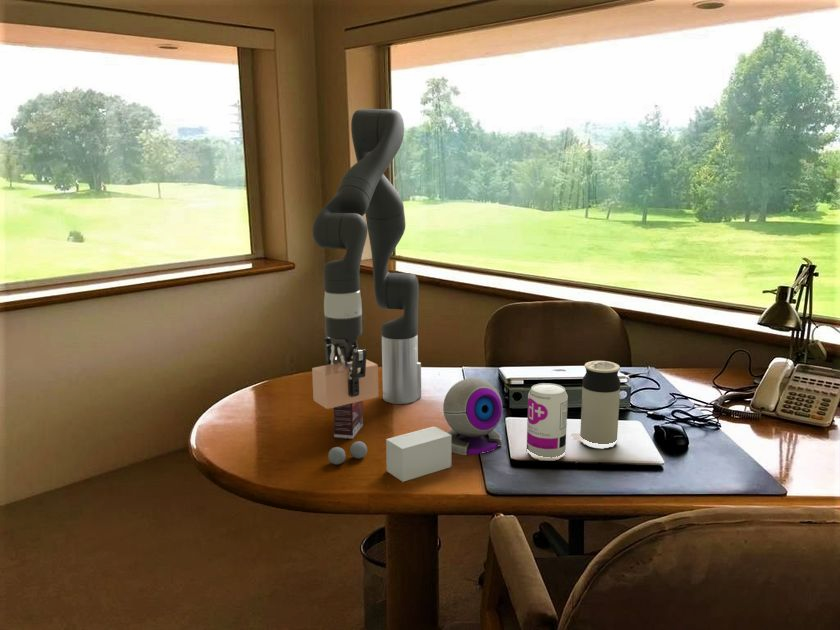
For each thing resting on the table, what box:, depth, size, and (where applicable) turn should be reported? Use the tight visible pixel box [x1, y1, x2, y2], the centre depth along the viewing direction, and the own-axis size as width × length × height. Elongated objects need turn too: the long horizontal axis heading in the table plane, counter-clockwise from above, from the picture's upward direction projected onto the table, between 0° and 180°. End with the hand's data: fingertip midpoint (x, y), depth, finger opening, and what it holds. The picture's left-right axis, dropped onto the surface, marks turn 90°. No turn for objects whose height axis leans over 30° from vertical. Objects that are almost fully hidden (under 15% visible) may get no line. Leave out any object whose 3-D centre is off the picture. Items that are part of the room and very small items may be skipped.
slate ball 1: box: [327, 446, 346, 466], centre depth 153 cm, size 4×4×4 cm
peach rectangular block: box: [311, 358, 380, 410], centre depth 151 cm, size 12×6×7 cm, turn 124°
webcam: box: [442, 377, 503, 456], centre depth 162 cm, size 13×13×15 cm
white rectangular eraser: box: [385, 426, 452, 483], centre depth 150 cm, size 12×6×7 cm, turn 124°
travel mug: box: [579, 360, 621, 444], centre depth 161 cm, size 8×8×18 cm
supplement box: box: [333, 401, 364, 440], centre depth 169 cm, size 9×5×16 cm, turn 168°
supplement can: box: [526, 382, 569, 458], centre depth 155 cm, size 8×8×15 cm
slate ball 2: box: [349, 440, 368, 459], centre depth 156 cm, size 4×4×4 cm
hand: (345, 391), depth 152 cm, fingers closed on peach rectangular block, 6 cm apart
